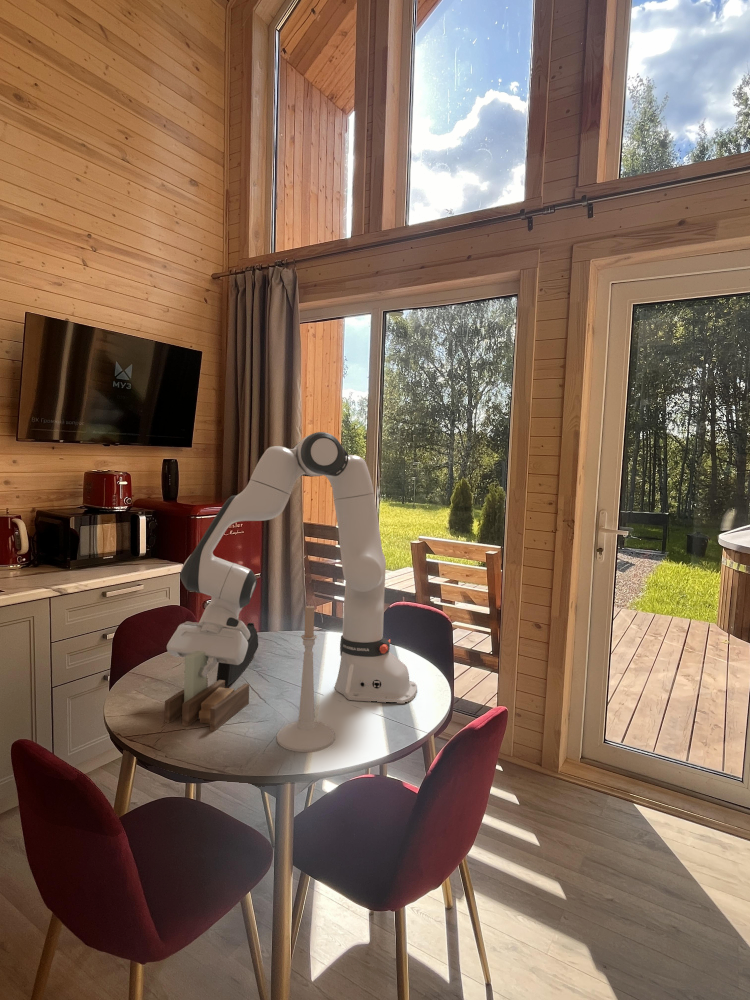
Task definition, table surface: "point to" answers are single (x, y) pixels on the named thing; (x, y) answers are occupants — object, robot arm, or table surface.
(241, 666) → the magazine
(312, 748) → the candlestick
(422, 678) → the table surface
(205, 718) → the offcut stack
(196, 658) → the tall panel
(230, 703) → the walnut rack
